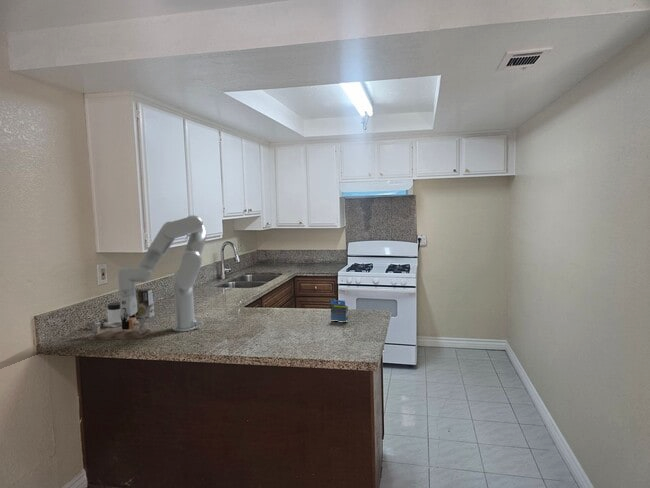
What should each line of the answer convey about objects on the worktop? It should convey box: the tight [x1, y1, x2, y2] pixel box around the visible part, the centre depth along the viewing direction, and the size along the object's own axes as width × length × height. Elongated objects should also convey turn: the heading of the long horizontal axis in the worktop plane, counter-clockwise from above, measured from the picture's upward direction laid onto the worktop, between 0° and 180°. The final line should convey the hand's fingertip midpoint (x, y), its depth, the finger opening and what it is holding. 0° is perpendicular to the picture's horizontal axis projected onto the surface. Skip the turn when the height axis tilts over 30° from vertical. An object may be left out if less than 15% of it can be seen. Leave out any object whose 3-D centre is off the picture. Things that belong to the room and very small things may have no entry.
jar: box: [106, 301, 126, 328], centre depth 231 cm, size 9×8×12 cm
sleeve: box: [124, 317, 138, 330], centre depth 211 cm, size 5×5×5 cm
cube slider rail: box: [86, 318, 151, 341], centre depth 211 cm, size 28×10×8 cm, turn 94°
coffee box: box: [136, 288, 156, 319], centre depth 248 cm, size 9×6×16 cm
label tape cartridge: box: [330, 299, 349, 321], centre depth 229 cm, size 9×4×12 cm, turn 65°
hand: (129, 326), depth 211 cm, fingers open, 8 cm apart
